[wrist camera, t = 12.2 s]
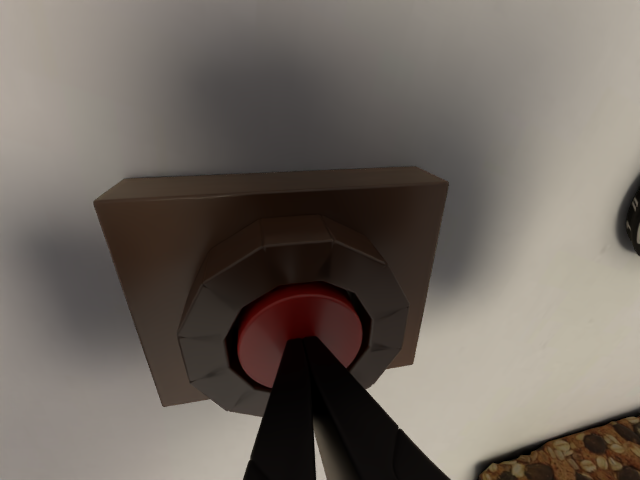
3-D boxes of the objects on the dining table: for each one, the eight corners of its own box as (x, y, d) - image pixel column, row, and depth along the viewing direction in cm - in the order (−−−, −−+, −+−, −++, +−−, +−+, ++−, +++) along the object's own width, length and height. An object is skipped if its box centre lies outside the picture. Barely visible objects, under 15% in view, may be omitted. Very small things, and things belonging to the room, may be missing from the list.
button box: (175, 361, 13) (147, 460, 10) (122, 178, 10) (49, 230, 6) (392, 329, 15) (436, 403, 11) (416, 165, 11) (490, 200, 8)
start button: (245, 355, 11) (244, 401, 9) (232, 267, 9) (228, 304, 8) (344, 340, 11) (359, 380, 10) (349, 256, 10) (368, 287, 8)
